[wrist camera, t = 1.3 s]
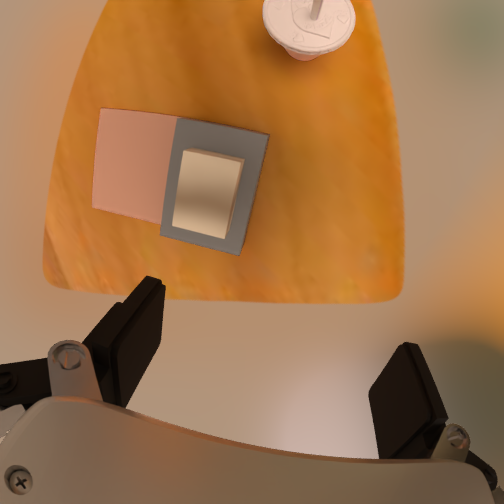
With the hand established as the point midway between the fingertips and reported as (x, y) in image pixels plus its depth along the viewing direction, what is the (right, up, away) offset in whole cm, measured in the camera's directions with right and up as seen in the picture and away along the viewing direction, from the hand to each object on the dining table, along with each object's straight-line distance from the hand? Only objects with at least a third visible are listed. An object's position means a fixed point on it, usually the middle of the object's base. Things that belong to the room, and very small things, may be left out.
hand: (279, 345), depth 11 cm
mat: (-14, +13, +20) cm, 27 cm away
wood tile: (-5, +9, +16) cm, 19 cm away
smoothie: (+4, +23, +13) cm, 27 cm away
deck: (-5, +11, +20) cm, 23 cm away
